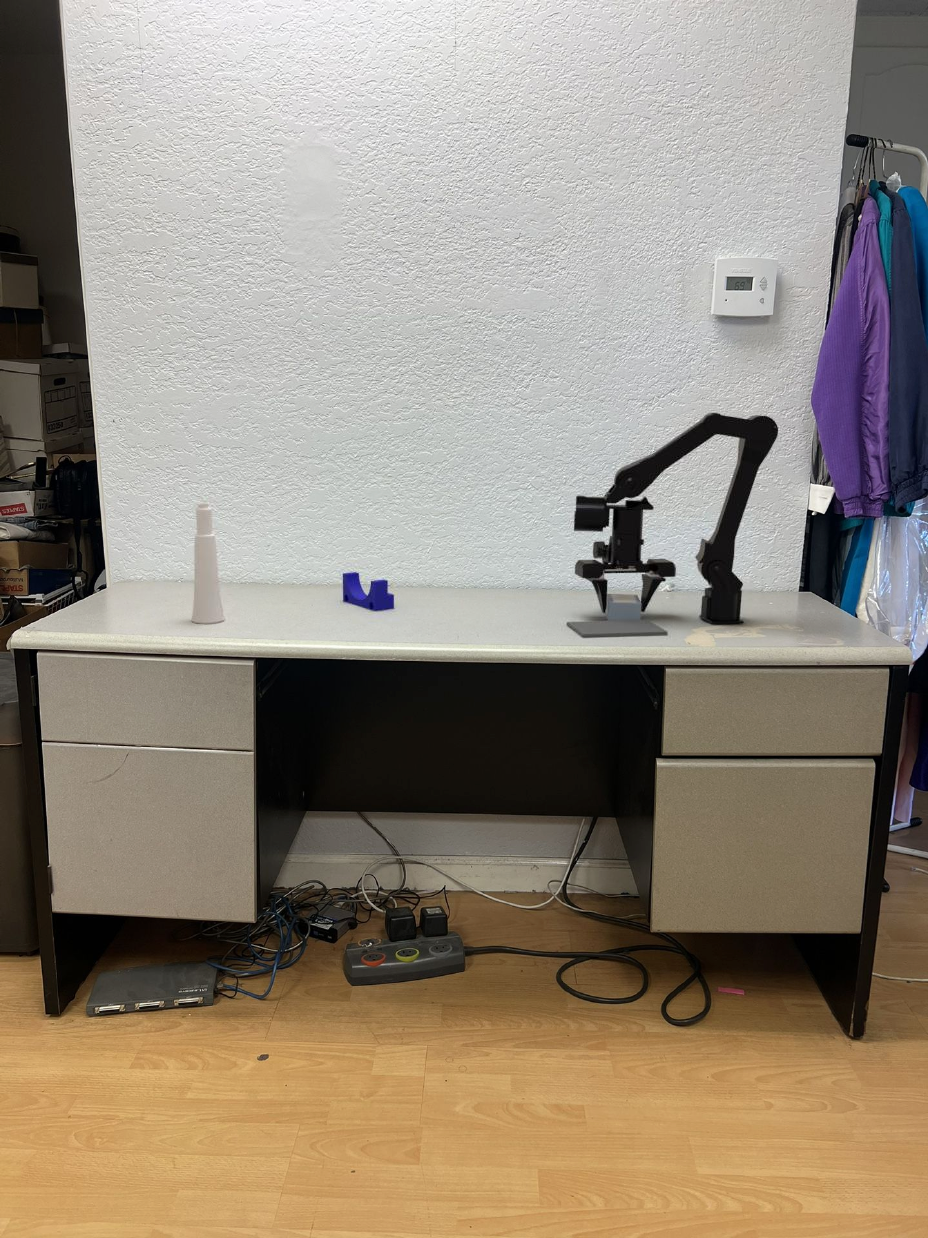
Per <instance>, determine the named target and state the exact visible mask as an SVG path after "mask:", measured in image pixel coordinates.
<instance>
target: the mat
mask: <svg viewBox="0 0 928 1238" xmlns="http://www.w3.org/2000/svg"><path fill="white" fill-rule="evenodd" d="M566 626H567V627H568V628H570V629H571V630H572V631H574V632H575V633H576V634H577V635H579V636H580V637H581V638H605V637H606V638H610V637H612V638H613V637H614V636H615V637H644V636H645V637H647V636H649V637H650V636H668V633H669V632H668V630H665V629H664V628H663V627H660V626H659V625H657V624H655V623H654V622H652V621H650V620H649V619H641V620H624V621H608V620H597V621H596V620H595V621H593V620H591V621H587V620H586V621H566ZM615 637H614V638H615Z"/></svg>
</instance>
